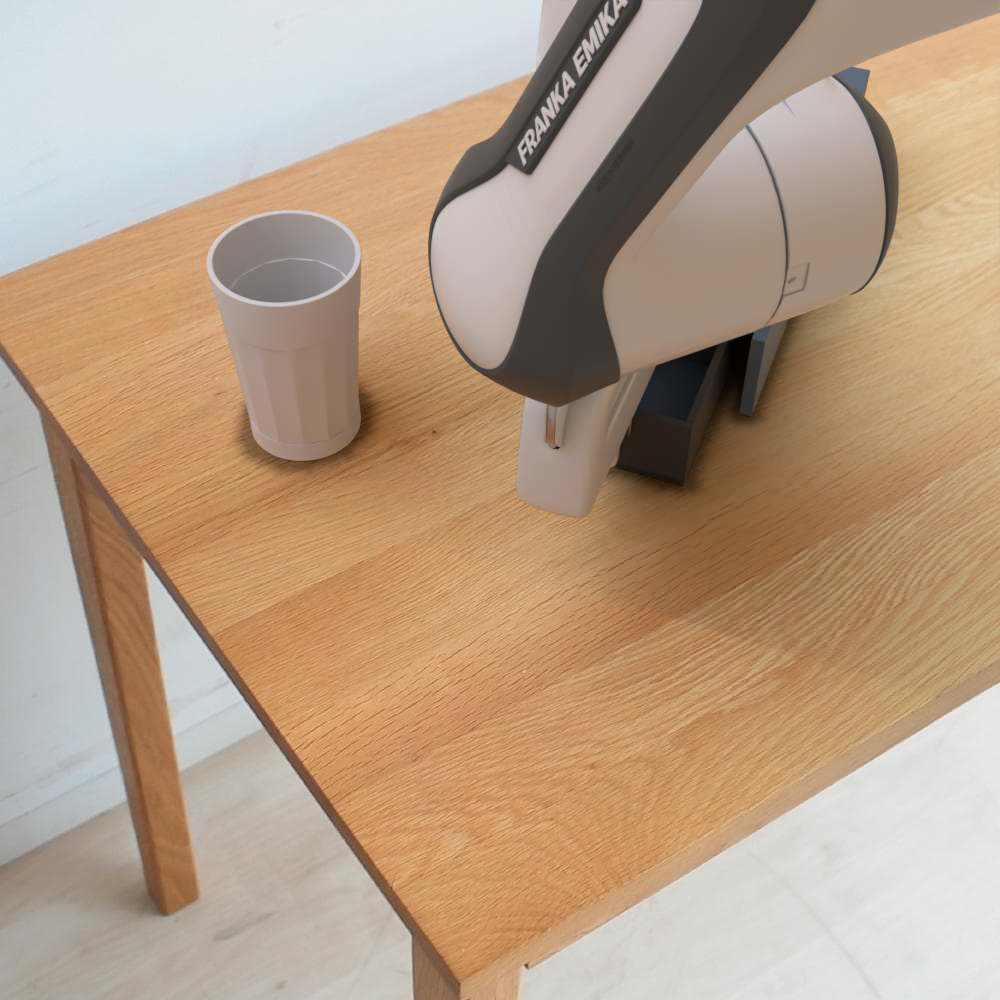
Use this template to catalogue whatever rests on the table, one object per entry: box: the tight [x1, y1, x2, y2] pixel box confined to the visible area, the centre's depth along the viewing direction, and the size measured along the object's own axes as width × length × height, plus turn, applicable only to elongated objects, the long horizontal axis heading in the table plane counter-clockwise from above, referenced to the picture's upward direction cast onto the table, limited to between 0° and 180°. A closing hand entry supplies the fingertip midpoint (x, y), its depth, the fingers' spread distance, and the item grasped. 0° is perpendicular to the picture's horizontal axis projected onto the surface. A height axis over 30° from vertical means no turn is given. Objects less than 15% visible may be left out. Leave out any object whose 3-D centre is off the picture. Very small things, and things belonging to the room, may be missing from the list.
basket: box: [613, 338, 736, 487], centre depth 83 cm, size 10×8×4 cm
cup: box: [206, 209, 362, 462], centre depth 79 cm, size 8×8×12 cm
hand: (607, 448), depth 78 cm, fingers closed
